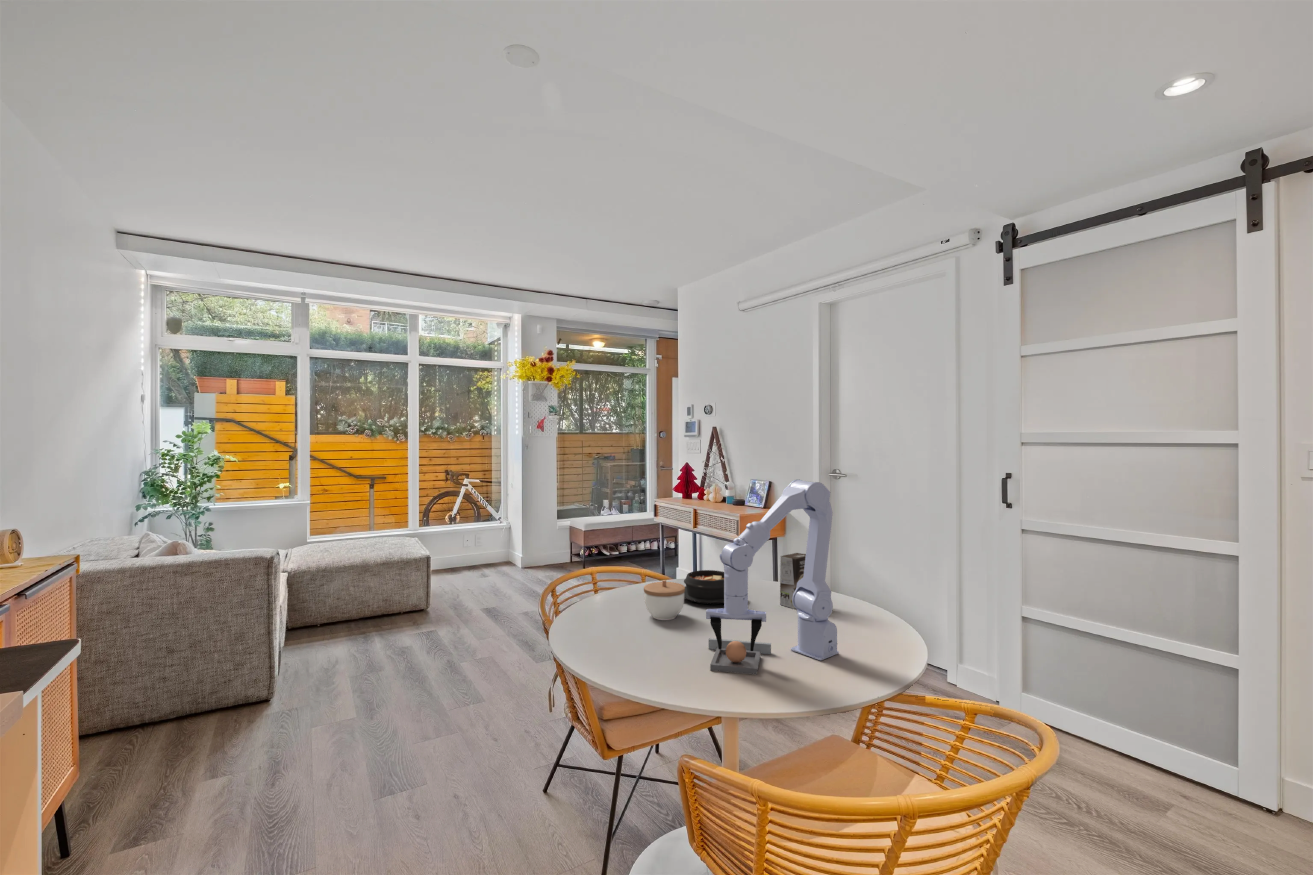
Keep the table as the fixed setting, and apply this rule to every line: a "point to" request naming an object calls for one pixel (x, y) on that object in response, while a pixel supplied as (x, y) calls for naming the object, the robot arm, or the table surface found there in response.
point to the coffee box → (790, 576)
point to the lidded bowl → (664, 599)
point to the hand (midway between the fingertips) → (735, 648)
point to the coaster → (725, 665)
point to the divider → (758, 646)
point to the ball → (736, 651)
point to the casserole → (705, 586)
